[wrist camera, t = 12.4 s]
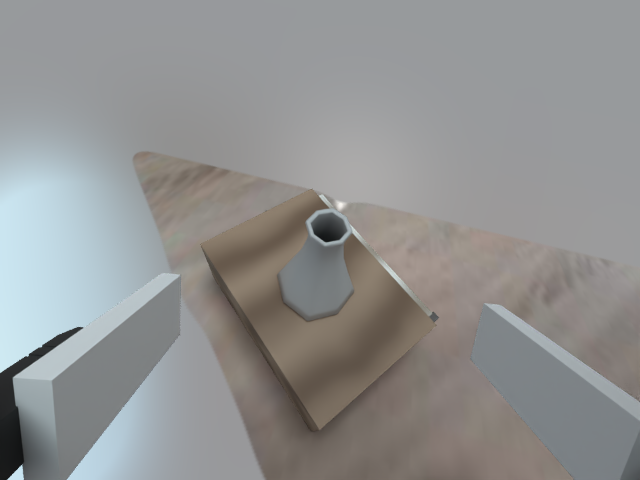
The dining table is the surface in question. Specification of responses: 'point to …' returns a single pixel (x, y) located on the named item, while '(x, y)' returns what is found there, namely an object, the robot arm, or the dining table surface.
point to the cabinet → (324, 333)
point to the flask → (319, 268)
